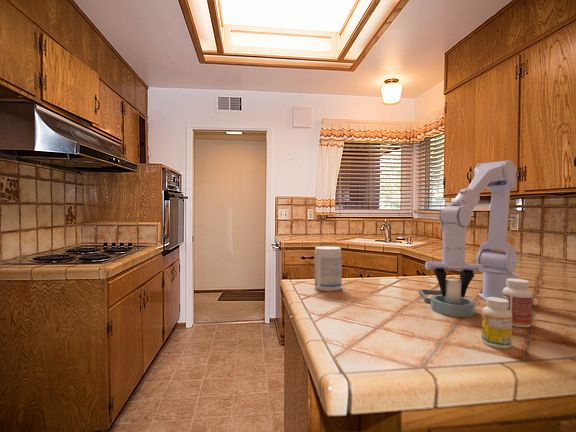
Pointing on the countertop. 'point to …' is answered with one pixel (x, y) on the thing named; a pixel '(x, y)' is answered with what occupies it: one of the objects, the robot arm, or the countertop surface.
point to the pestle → (453, 291)
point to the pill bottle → (519, 301)
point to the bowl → (453, 306)
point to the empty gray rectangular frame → (429, 293)
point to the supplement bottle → (497, 323)
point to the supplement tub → (328, 268)
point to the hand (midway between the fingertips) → (452, 295)
